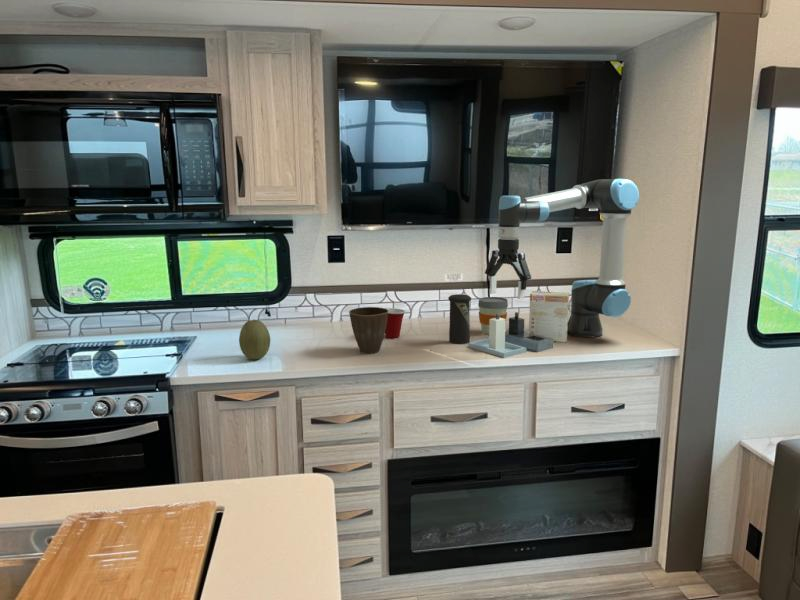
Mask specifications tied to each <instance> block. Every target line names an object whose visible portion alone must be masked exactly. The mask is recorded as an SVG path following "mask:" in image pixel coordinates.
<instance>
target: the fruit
mask: <svg viewBox="0 0 800 600" xmlns="http://www.w3.org/2000/svg"><path fill="white" fill-rule="evenodd" d="M238 342H239V348H240V350H241V352H242V354H243V355H244V356H245V358H247V359H249V360H253V361H254V360H255V361H256V360H260V359H263V358H264V357H265V356H266V355H267V354H268V352H269V350H270V346H271V336H270V332H269V329H268V328H267V325H266V324H265V323H263V322H262V320H258V319H249V320H248V321H246V322H245V323H244V324H243V325H242V327H241V329H240V332H239V338H238Z"/></svg>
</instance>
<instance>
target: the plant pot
mask: <svg viewBox="0 0 800 600" xmlns="http://www.w3.org/2000/svg"><path fill="white" fill-rule="evenodd" d="M385 308H386V307H385ZM385 308H384V307H376V306H364V307H363V306H362V307H357V308H352V309H351V310H349V311H348V313H349V319H350V324H351V328H352V329H351V330H352V332H353V335H354V338H355V342H356V343H357V347H358V349H359V352H360V353H362V354H367V355H368V354H369V355H370V354H377V353H379V352H380V350H381V347H382V344H383V341H384V337H385V330H386V324H387V318H388V310H387V309H385Z"/></svg>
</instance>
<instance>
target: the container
mask: <svg viewBox="0 0 800 600" xmlns="http://www.w3.org/2000/svg"><path fill="white" fill-rule="evenodd" d="M447 299H448V301H449V329H448V330H449V331H448V332H449V334H448V340H449V341H448V342H449V343H450V344H454V345H468V343H470V338H471V337H470V336H471V335H470V331H471V330H470V329H471V328H470V326H471V325H470V315H471V313H470V302H471V301H472V297H471V296H470V295H468V294H463V293H461V294H460V293H459V294H457V293H455V294H451V295H449V296H448V298H447Z"/></svg>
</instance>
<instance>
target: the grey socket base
mask: <svg viewBox="0 0 800 600" xmlns="http://www.w3.org/2000/svg"><path fill="white" fill-rule="evenodd" d="M505 342H507V343H511V344H514V345H518V346H522V347H525V348H527V349H526V350H528V351H532V352H536V353H539V352H544V351H547V350H551V349H554V339H553V338H548V337H544V336H540V335H536V334H532V333H529V331H528V332H527V331H525V318H523V317H522V318H521V317H519V312H517V311H516V312H514V316H513V317H508V330H505Z"/></svg>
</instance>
